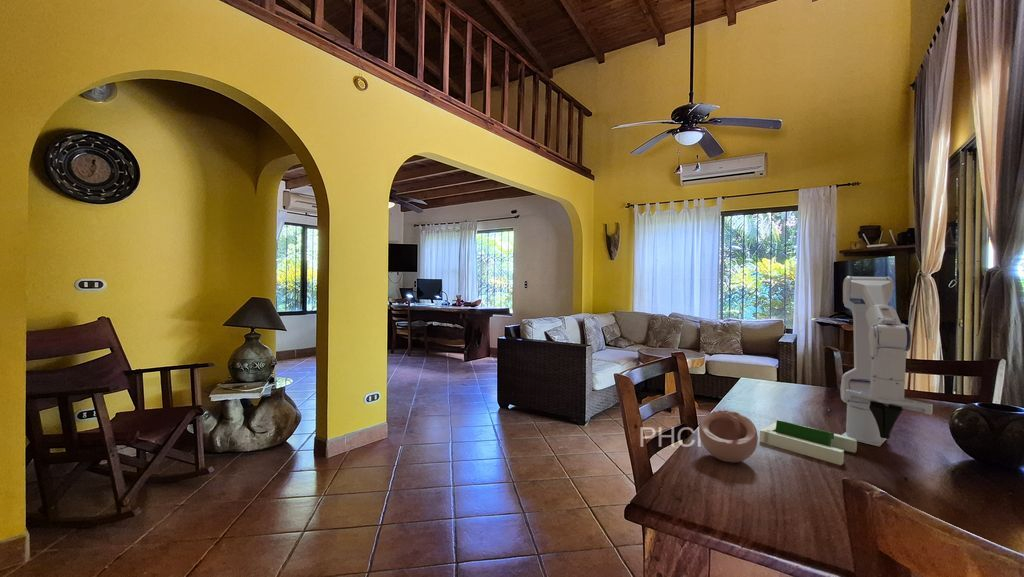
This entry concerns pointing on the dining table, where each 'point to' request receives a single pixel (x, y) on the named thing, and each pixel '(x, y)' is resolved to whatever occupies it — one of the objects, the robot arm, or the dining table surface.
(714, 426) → the pink round bowl
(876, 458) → the dining table surface
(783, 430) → the dark green block
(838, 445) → the bracket
